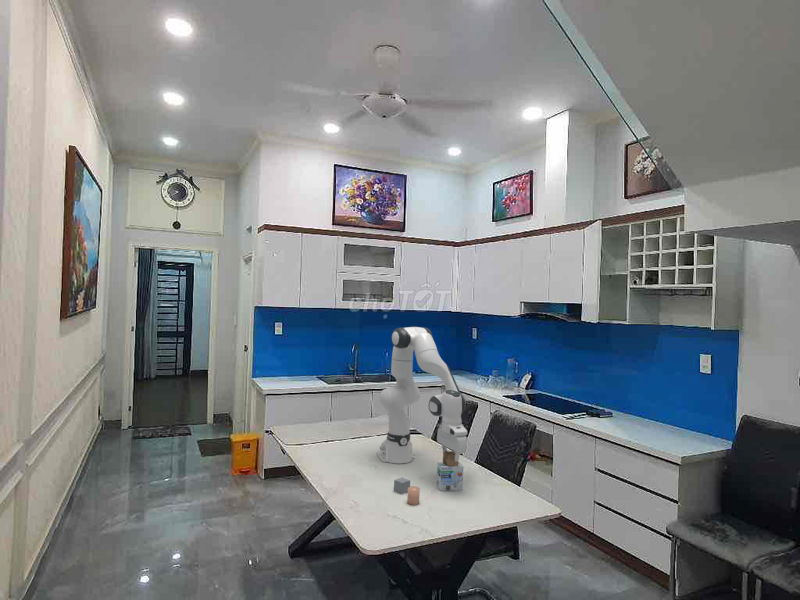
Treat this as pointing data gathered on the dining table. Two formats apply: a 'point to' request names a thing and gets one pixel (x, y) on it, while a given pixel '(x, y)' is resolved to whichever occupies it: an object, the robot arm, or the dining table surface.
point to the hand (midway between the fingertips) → (450, 457)
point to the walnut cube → (449, 458)
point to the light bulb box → (449, 477)
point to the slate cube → (401, 485)
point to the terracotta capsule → (413, 495)
